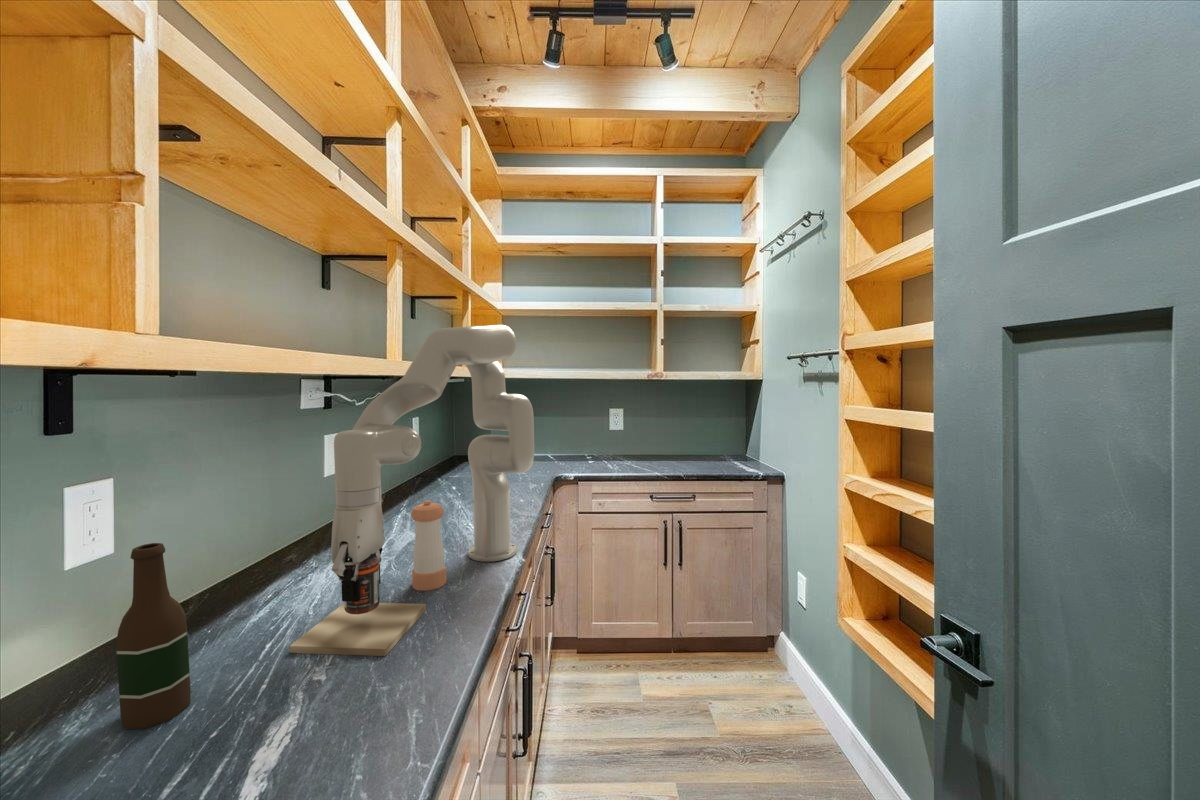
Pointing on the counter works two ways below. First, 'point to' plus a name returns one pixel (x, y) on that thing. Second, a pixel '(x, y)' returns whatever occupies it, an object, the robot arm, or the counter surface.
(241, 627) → the counter surface
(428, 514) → the pepper shaker
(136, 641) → the beer bottle
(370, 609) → the supplement bottle
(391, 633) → the birch board
